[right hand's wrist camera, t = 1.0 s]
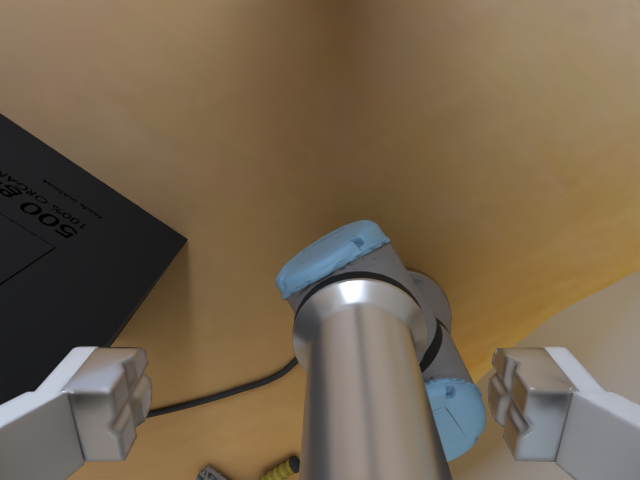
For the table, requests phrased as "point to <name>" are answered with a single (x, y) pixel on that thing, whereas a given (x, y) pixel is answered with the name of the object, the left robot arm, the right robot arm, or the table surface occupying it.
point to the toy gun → (275, 476)
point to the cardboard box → (66, 260)
